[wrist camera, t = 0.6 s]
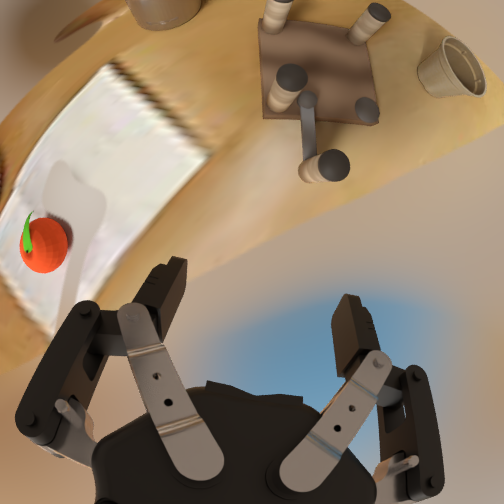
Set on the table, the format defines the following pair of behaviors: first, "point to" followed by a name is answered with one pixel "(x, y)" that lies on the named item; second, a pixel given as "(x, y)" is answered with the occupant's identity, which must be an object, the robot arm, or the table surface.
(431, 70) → the flower pot
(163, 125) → the table surface
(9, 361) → the table surface
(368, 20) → the stool
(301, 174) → the swing leg
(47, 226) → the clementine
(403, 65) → the table surface
